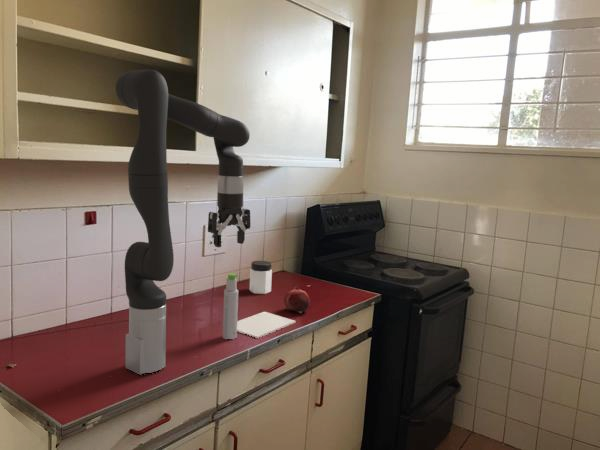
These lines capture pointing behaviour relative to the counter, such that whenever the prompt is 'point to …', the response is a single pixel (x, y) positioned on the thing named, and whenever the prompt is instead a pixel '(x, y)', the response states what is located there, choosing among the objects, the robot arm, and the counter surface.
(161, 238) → the robot arm
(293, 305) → the fruit
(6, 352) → the counter surface
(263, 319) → the tile
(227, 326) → the bottle
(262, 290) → the jar
